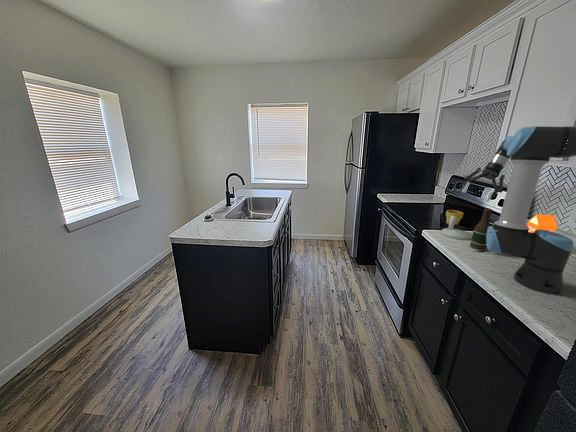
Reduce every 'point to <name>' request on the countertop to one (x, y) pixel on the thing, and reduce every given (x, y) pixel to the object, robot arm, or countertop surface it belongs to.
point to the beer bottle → (481, 232)
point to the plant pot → (454, 213)
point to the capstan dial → (455, 231)
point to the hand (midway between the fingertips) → (474, 196)
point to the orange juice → (542, 223)
